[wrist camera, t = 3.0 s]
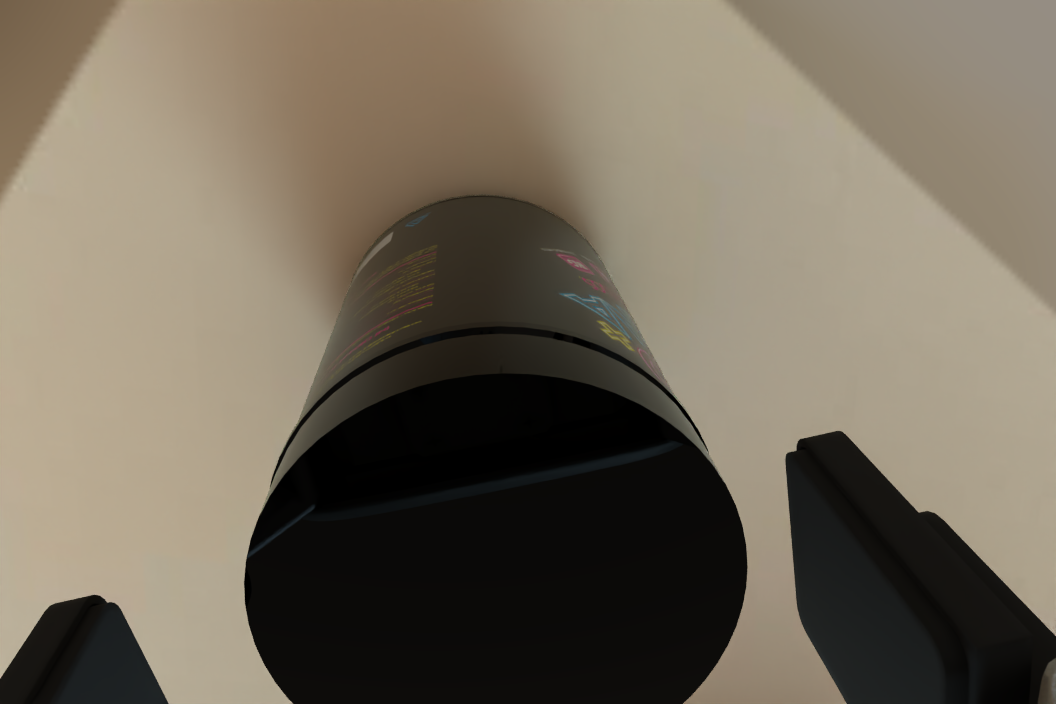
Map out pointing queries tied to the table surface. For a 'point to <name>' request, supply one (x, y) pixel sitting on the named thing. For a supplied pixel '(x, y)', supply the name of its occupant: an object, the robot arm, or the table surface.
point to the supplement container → (492, 487)
